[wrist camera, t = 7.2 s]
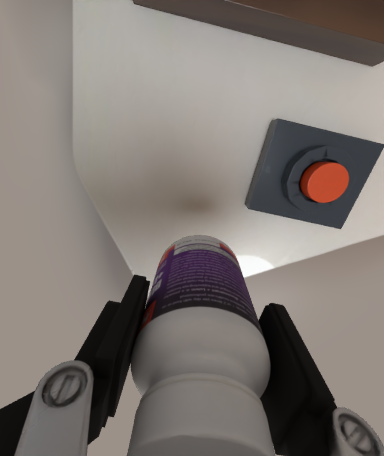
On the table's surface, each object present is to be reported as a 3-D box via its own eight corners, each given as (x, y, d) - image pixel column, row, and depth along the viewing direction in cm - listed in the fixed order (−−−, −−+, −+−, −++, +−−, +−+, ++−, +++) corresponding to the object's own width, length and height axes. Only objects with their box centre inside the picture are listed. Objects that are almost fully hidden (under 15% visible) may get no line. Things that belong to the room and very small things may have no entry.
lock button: (294, 194, 23) (301, 198, 22) (309, 157, 22) (318, 158, 20) (328, 202, 23) (337, 206, 22) (345, 166, 22) (356, 167, 20)
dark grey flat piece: (244, 204, 27) (251, 213, 24) (271, 120, 24) (284, 116, 20) (330, 223, 28) (350, 235, 24) (369, 144, 24) (400, 144, 21)
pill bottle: (153, 236, 14) (66, 421, 5) (236, 228, 13) (321, 410, 4) (166, 302, 16) (123, 521, 7) (238, 297, 15) (299, 519, 6)
